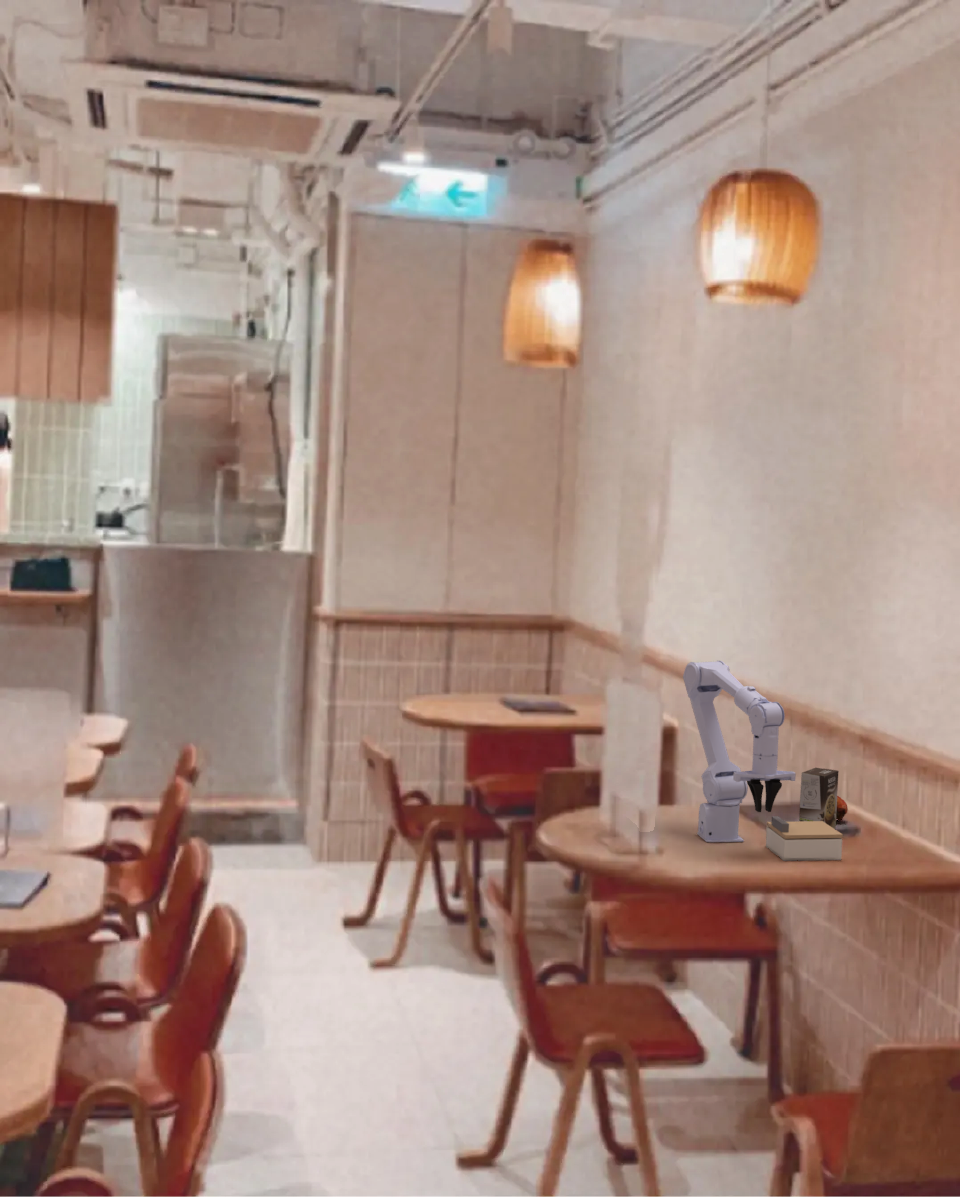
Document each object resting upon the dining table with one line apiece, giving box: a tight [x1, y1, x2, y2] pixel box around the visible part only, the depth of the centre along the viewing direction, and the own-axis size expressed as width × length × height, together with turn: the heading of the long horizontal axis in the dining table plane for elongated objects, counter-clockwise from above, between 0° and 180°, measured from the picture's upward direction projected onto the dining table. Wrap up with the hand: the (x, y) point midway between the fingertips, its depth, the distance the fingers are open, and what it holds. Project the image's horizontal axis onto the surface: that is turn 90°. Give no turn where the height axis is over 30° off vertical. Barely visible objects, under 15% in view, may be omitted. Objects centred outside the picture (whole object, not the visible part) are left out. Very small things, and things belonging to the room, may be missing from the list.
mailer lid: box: [766, 815, 844, 839], centre depth 324 cm, size 14×12×3 cm
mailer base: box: [765, 825, 843, 862], centre depth 324 cm, size 14×12×5 cm
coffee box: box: [798, 767, 839, 830], centre depth 341 cm, size 9×6×16 cm
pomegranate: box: [836, 795, 849, 821], centre depth 355 cm, size 7×7×10 cm
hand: (763, 811), depth 322 cm, fingers closed
